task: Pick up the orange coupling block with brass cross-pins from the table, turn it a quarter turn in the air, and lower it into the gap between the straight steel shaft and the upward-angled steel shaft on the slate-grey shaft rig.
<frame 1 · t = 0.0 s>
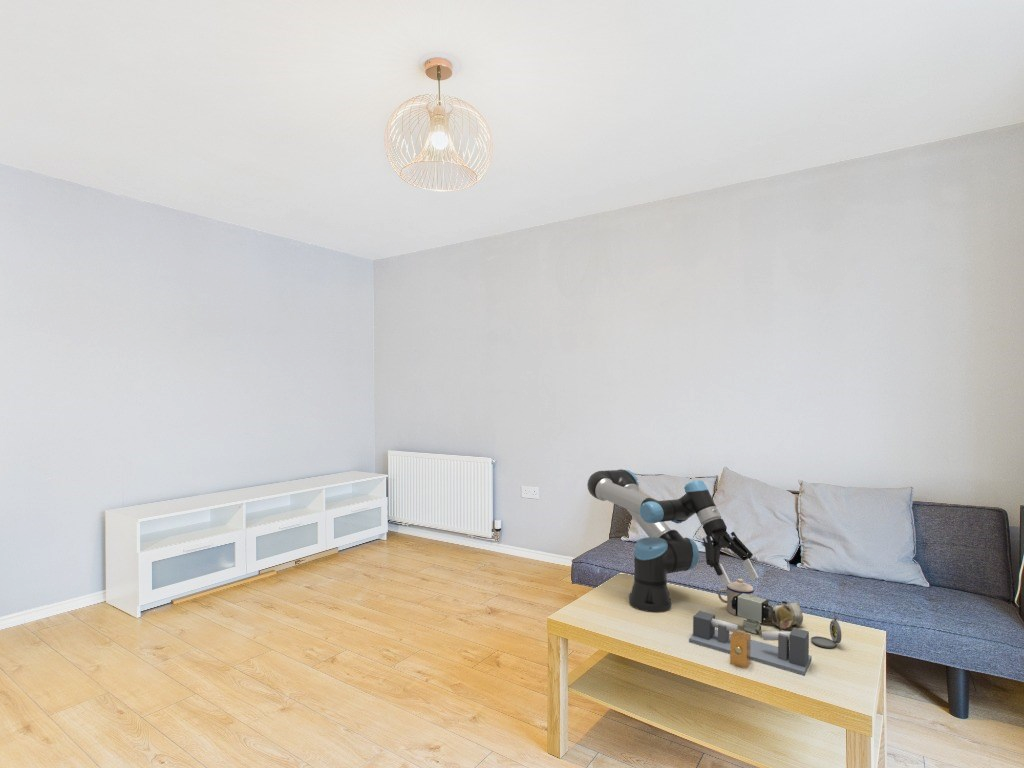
hand: (741, 581, 179), 15 cm above the table, fingers open, 13 cm apart
pocket watch: (827, 645, 167), on the table
ceramic sculpture: (783, 627, 181), on the table
universal joint coupler: (740, 663, 154), on the table
shaft rig: (749, 650, 162), on the table
pneumatic valve: (752, 631, 176), on the table
teacup with lid: (735, 611, 193), on the table
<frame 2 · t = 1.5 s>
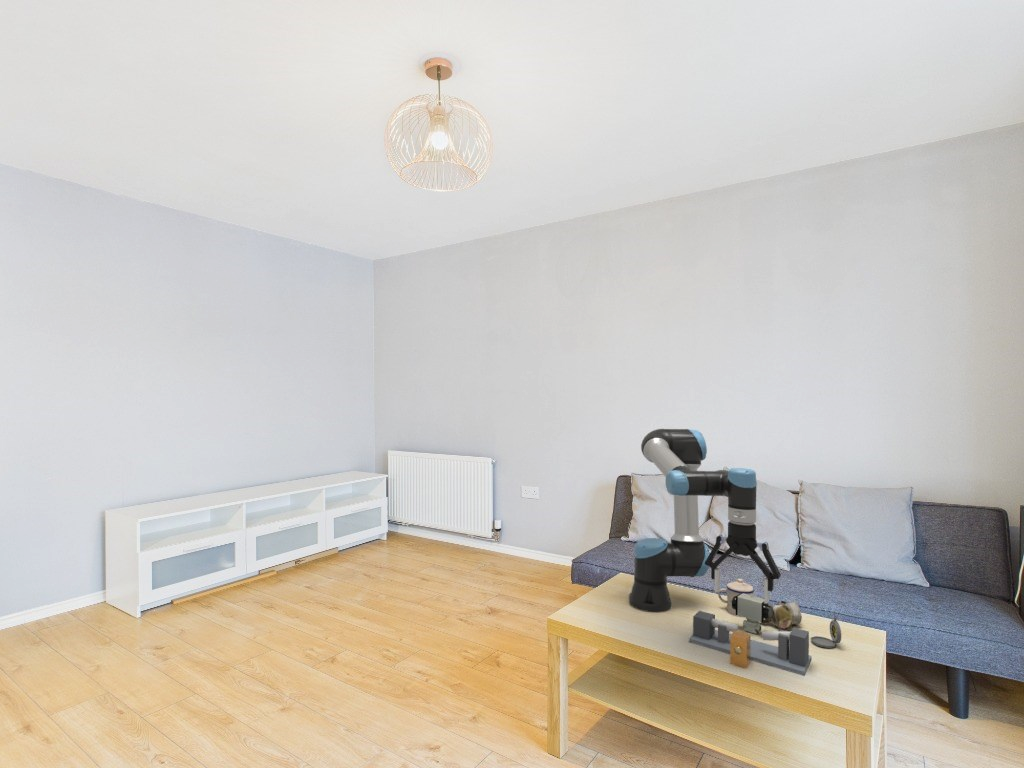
hand: (741, 596, 155), 19 cm above the table, fingers open, 13 cm apart
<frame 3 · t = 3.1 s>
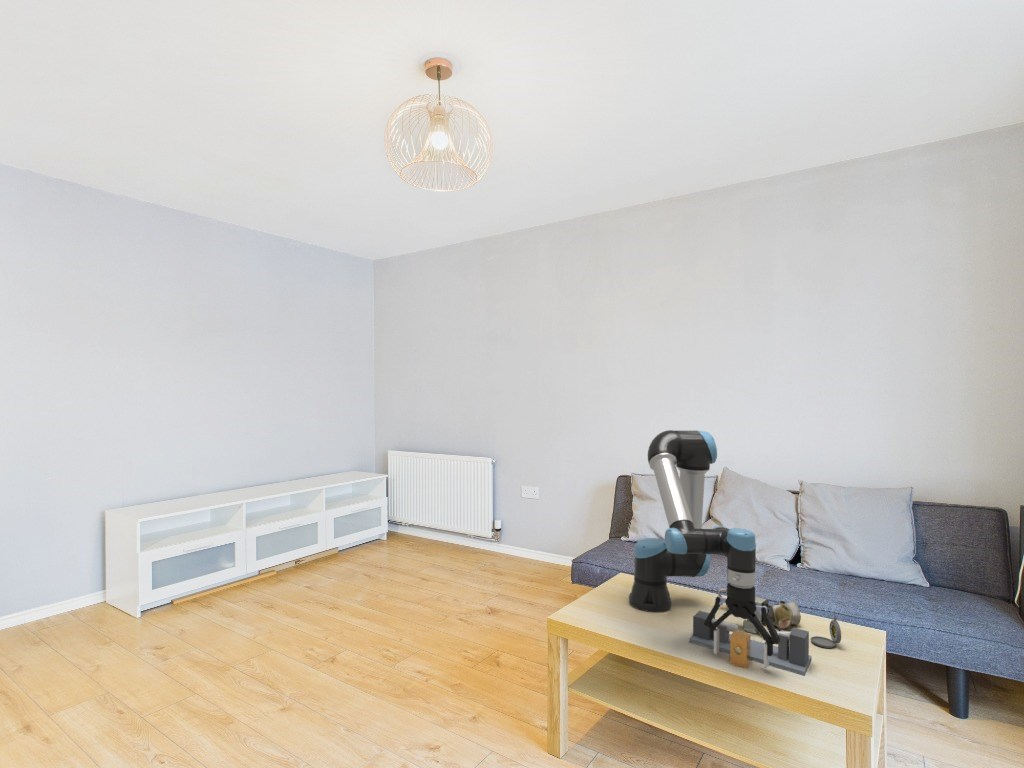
hand: (740, 659, 154), 1 cm above the table, fingers open, 13 cm apart
nothing on the table moved.
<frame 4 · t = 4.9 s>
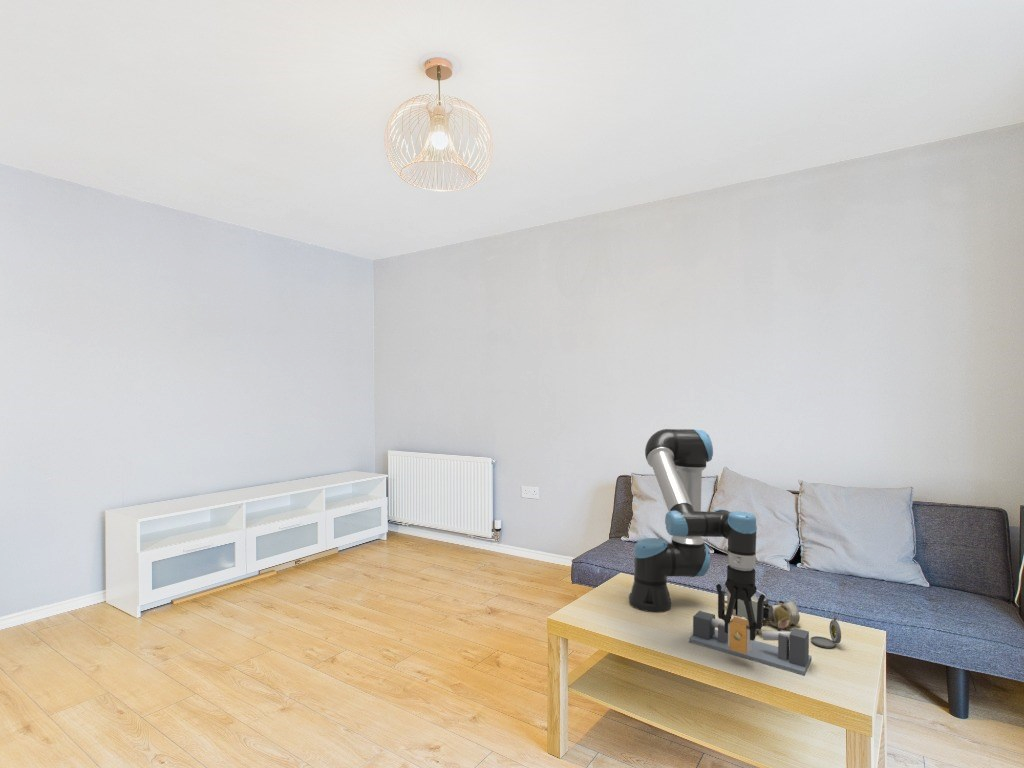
hand: (739, 647, 155), 4 cm above the table, fingers closed on universal joint coupler, 4 cm apart
universal joint coupler: (739, 648, 155), point 4 cm above the table, touching gripper
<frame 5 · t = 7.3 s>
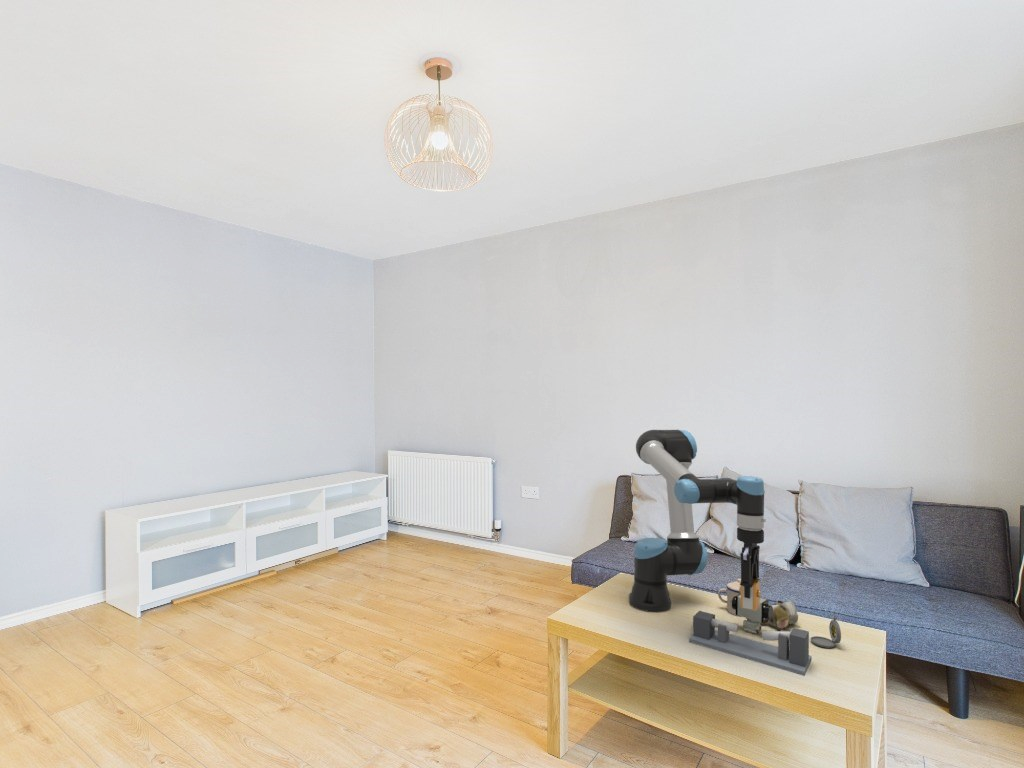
hand: (750, 605, 163), 14 cm above the table, fingers closed on universal joint coupler, 4 cm apart
universal joint coupler: (750, 606, 162), point 13 cm above the table, touching gripper
when the fingers open (1 cm above the table, at t = 9.6 s): universal joint coupler stays where it is, resting on shaft rig.
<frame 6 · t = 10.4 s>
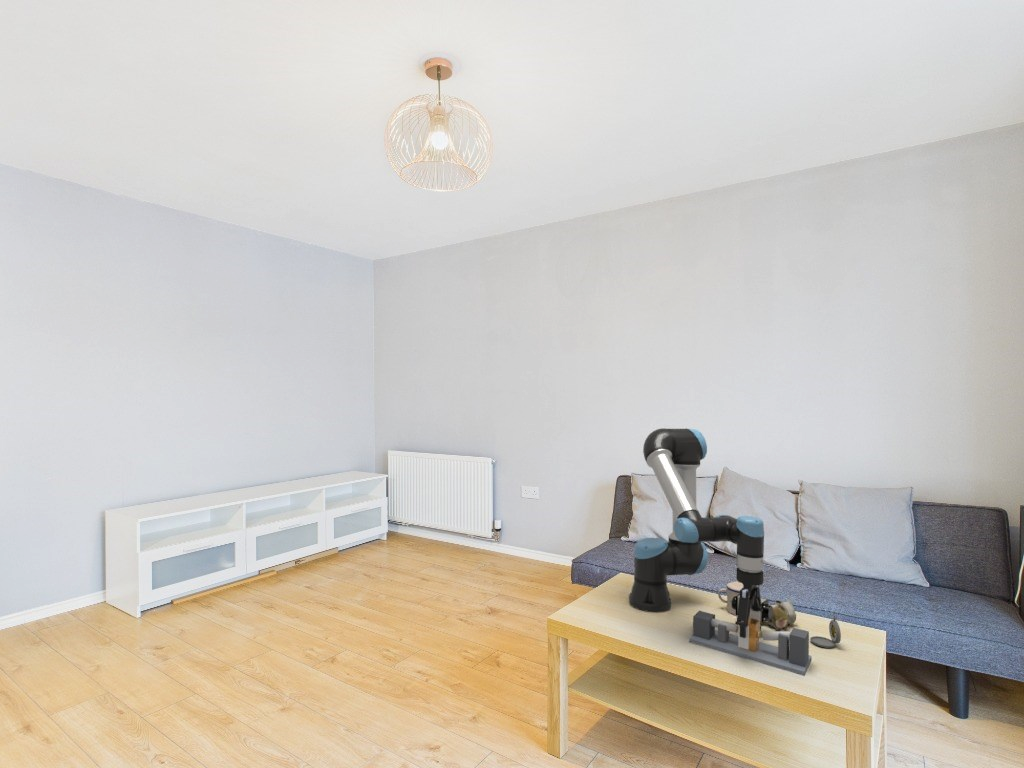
hand: (749, 639, 162), 3 cm above the table, fingers open, 13 cm apart
universal joint coupler: (749, 647, 162), point 1 cm above the table, touching shaft rig
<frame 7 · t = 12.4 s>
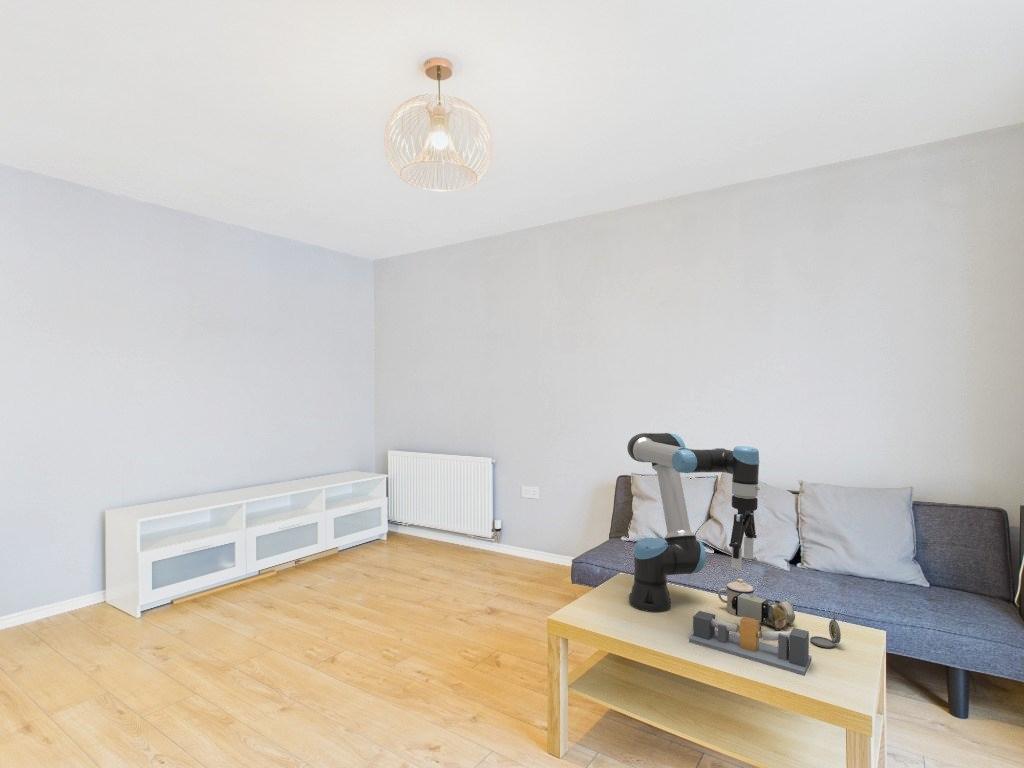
hand: (742, 563, 170), 24 cm above the table, fingers open, 13 cm apart
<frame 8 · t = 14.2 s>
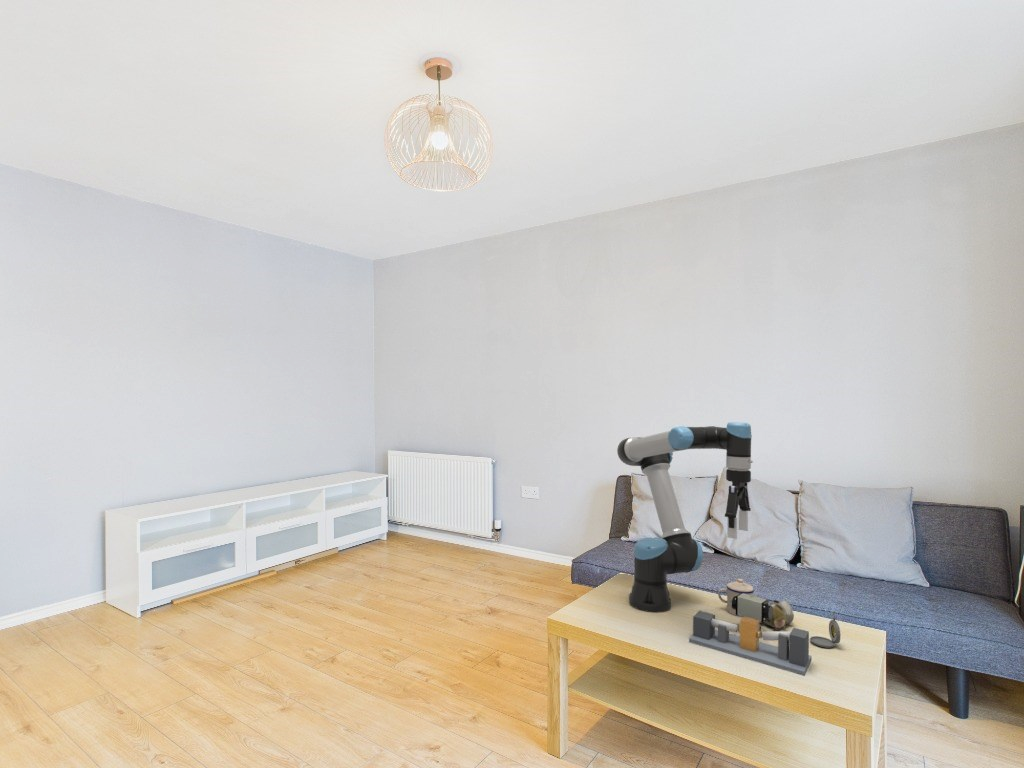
hand: (737, 534, 177), 32 cm above the table, fingers open, 13 cm apart
at the end: universal joint coupler 0.1 cm off-centre on the shaft rig, point 1.0 cm above the shaft rig's base; universal joint coupler tilted 0°; the gripper is holding nothing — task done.
